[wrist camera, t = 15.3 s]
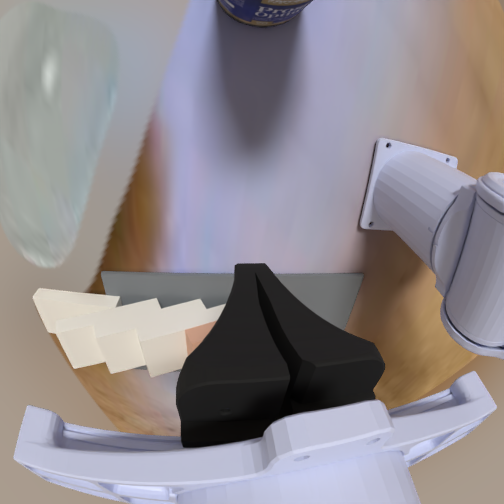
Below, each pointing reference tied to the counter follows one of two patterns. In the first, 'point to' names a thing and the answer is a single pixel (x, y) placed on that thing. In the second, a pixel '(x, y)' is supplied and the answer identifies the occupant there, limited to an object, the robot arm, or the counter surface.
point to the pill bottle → (263, 11)
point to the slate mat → (219, 287)
